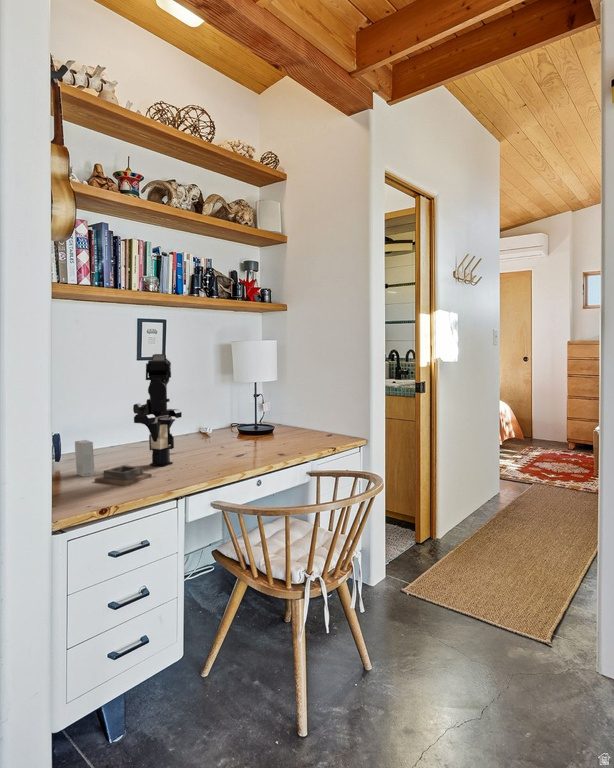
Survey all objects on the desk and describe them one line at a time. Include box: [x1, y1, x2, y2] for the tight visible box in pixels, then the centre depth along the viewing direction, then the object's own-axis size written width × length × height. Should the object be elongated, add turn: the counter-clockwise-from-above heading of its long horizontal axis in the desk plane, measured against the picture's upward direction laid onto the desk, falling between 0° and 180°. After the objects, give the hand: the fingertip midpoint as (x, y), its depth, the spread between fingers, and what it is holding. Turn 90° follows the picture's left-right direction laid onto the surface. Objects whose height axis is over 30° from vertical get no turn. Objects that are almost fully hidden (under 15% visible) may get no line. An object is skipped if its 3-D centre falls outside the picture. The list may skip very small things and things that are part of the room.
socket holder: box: [94, 464, 153, 487], centre depth 171 cm, size 13×13×4 cm
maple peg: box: [151, 424, 168, 449], centre depth 173 cm, size 4×4×8 cm
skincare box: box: [74, 439, 96, 478], centre depth 176 cm, size 6×4×12 cm
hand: (159, 440), depth 173 cm, fingers closed on maple peg, 4 cm apart
